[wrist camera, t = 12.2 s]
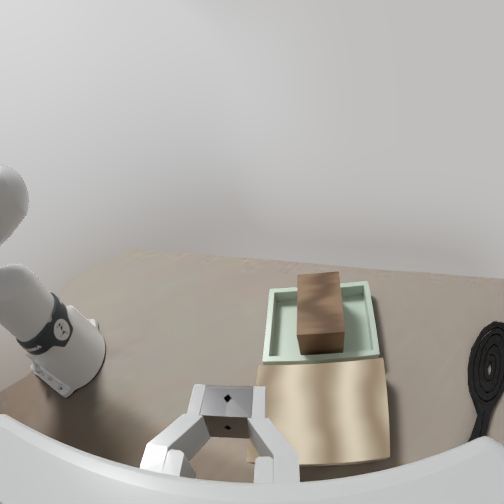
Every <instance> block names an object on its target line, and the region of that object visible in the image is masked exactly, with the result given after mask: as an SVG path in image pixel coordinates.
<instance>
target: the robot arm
mask: <svg viewBox="0 0 504 504" xmlns="http://www.w3.org/2000/svg"><path fill="white" fill-rule="evenodd" d="M28 202H29V200H28V192H27V188H26V185H25V183H24V181H23V179H22V177H21V176H20V175H19V174H18V173H17V172H16V171H15V170H13V169H12V168H10V167H8V166H5V165H0V246H1V244H3V242H5V241H6V240H7V239H8V238H9V237H10V236H11V235H12V233H13V232H14V231H15V229H16V228H17V227H18V225H19V224H20V223H21V221H22V220H23V219H24V217H25V216H26V215H27V212H28ZM0 324H1V325H2V326H4V327H5V328H6V329H7V330H8V331H9V332H10V333H11V334H12V335H14V336H15V337H16V339H17V341H18V343H19V344H20V345H21V346H22V347H23V348H24V349H25V351H26V356H27V357H28V358H30V359H31V360H32V361H33V363H32V365H31V367H30V368H31V369H32V370H33V371H34V373H35V374H37V375H38V376H39V377H40V378H41V379H42V380H43V381H45V382H46V383H47V384H48V385H49V386H51V387H52V388H53V389H54V390H55V391H57V392H58V393H59V394H60V395H62V396H63V397H65V398H67V397H68V396H70V395H71V394H72V393H73V392H74V391H75V390H76V389H78V388H80V387H82V386H84V385H86V384H87V383H88V382H90V381H91V380H92V379H93V378H94V376H95V375H96V374H97V372H98V371H99V369H100V367H101V365H102V362H103V359H104V355H105V342H104V339H103V337H102V335H101V334H100V332H99V329H98V323H97V321H95V320H94V319H89V320H87V319H86V318H85V317H84V316H83V315H82V314H81V313H80V312H78V311H77V310H76V309H75V308H74V307H73V306H71V305H70V306H65V305H64V304H63V303H62V301H61V300H60V299H59V298H58V297H57V296H55V295H54V294H53V293H51V292H49V291H48V290H47V289H46V287H45V286H44V285H43V284H42V283H41V282H40V280H39V279H38V278H37V277H36V275H35V274H34V273H33V272H32V270H31V269H30V268H28V267H27V266H25V265H22V264H17V263H16V264H15V263H14V264H9V265H5V266H0ZM210 437H229V438H245V439H250V440H251V442H252V444H253V445H254V447H255V448H256V450H257V452H258V453H259V455H260V456H261V457H258V458H256V459H255V472H254V483H237V482H222V481H211V480H202V479H195V478H196V473H195V471H194V470H193V468H192V466H191V465H190V463H189V461H190V460H191V459H192V458H193V457H194V456H195V455H196V453H197V452H198V451H199V450H200V449H201V448H202V447H203V446H204V445H205V443H206V442H207V441H208V440H209V439H210ZM0 504H504V445H502V444H501V443H499V442H497V441H495V440H493V439H492V438H490V437H487V436H482V437H479V438H476V439H474V440H472V441H470V442H468V443H465V444H463V445H461V446H458V447H456V448H453V449H451V450H448V451H445V452H443V453H440V454H437V455H434V456H431V457H428V458H425V459H422V460H419V461H416V462H412V463H409V464H405V465H402V466H398V467H394V468H390V469H386V470H381V471H377V472H372V473H367V474H362V475H356V476H350V477H344V478H337V479H329V480H320V481H309V482H300V473H299V455H298V454H297V452H296V451H295V450H294V449H293V448H292V446H291V445H290V444H289V443H288V442H287V440H286V439H285V438H284V437H283V435H282V434H281V433H280V432H279V430H278V429H277V428H276V426H275V425H274V424H273V423H272V421H271V420H270V419H269V418H266V386H216V385H203V384H195V385H194V387H193V390H192V394H191V398H190V402H189V406H188V410H187V414H182V415H181V416H180V417H179V418H178V419H177V420H175V421H174V422H173V423H172V424H171V425H169V426H168V427H167V428H166V429H165V430H163V431H162V432H161V433H160V434H159V435H157V436H156V437H155V438H154V439H152V440H151V441H150V442H149V443H148V444H147V446H146V449H145V452H144V455H143V458H142V462H141V465H140V468H137V467H133V466H129V465H125V464H122V463H118V462H115V461H111V460H108V459H105V458H102V457H99V456H96V455H93V454H90V453H87V452H84V451H82V450H79V449H76V448H74V447H71V446H69V445H66V444H64V443H62V442H59V441H57V440H55V439H52V438H50V437H48V436H46V435H44V434H42V433H40V432H38V431H36V430H34V429H32V428H30V427H28V426H26V425H24V424H22V423H20V422H18V421H16V420H15V419H13V418H11V417H10V416H8V415H5V414H1V415H0Z"/></svg>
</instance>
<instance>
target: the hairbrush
mask: <svg viewBox="0 0 504 504" xmlns="http://www.w3.org/2000/svg"><path fill="white" fill-rule="evenodd" d="M489 331H491V332H489ZM488 332H489V333H488ZM487 333H488V334H487ZM486 334H487V335H486ZM485 335H486V336H485ZM484 336H485V337H484ZM491 336H493V337H491ZM483 337H484V338H483ZM490 337H491V338H490ZM482 338H483V340H482V341H481V339H482ZM489 338H490V339H489ZM488 339H489V340H488ZM487 340H488V341H487ZM486 341H487V342H486ZM480 342H481V343H480ZM485 342H486V344H485ZM484 344H485V345H484ZM490 347H491V348H490ZM489 348H490V349H489ZM488 349H489V350H488ZM490 362H491V374H490V375H489V374H488V373H489V372H488V371H487V368H488V365H489V363H490ZM483 366H484V368H483ZM478 368H479V370H478ZM494 372H495V373H494ZM498 373H499V375H498ZM493 375H494V377H493ZM492 378H493V380H492ZM497 378H498V380H497ZM502 379H503V380H502ZM486 380H487V381H489V382H487V381H486ZM490 380H492V381H490ZM501 382H502V383H501ZM495 385H496V386H495ZM500 385H501V386H500ZM468 386H469V389H470V390H469V392H471V394H470V395H472V396H471V397H472V400H473V402H474V405H475V408H476V411H477V414H478V416H477V419H476V422H475V425H474V428H473V431H472V434H471V437H470V439H469V441H468V442H470V441H472V440H474V439H476V438H479V437H482V436H486V432H487V428H488V423H489V418H490V414H491V412H492V410H493V408H494V406H495V404H496V402H497V401H498V399H499V398H500V396H501V394H502V393H503V391H504V323H502V322H501V321H500V322H497V321H496V322H495V321H494V322H492V323H491V324H489V325H488V326H486V327H485V328H483V330H482V331H481V332H480V334H479V336H478V337H477V339H476V341H475V343H474V345H473V347H472V348H471V353H470V357H469V364H468ZM494 386H495V388H494ZM499 387H500V388H499ZM493 388H494V390H493V391H492V392H491V390H492V389H493ZM498 389H499V391H498ZM489 392H490V393H489ZM497 392H498V393H497ZM495 395H496V396H495ZM494 396H495V397H494ZM493 397H494V398H493ZM492 398H493V399H492ZM491 399H492V400H491ZM489 400H491V401H489ZM487 401H489V402H487ZM468 442H467V443H468Z"/></svg>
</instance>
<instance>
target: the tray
mask: <svg viewBox="0 0 504 504" xmlns="http://www.w3.org/2000/svg"><path fill="white" fill-rule="evenodd" d="M340 287H341V296H342V306H343V316H344V327H345V337H344V350H343V353H333V354H318V355H301V354H300V350H299V345H298V340H297V335H296V334H297V287H293V288H279V289H270V292H269V302H268V313H267V323H266V333H265V342H264V352H263V361H262V362H263V364H264V365H301V364H320V363H335V362H347V361H358V360H367V359H376V358H379V355H380V352H379V345H378V338H377V331H376V324H375V318H374V312H373V306H372V300H371V295H370V290H369V285H368V281H363V282H352V283H342V284H340Z"/></svg>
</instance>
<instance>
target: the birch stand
mask: <svg viewBox="0 0 504 504" xmlns="http://www.w3.org/2000/svg"><path fill="white" fill-rule="evenodd" d="M256 386H266V418H269V419H270V420H271V421H272V423H273V424H274V425H275V426H276V428H277V429H278V430H279V432H280V433H281V434H282V435H283V437H284V438H285V439H286V440H287V442H288V443H289V444H290V445H291V446H292V448H293V449H294V450H295V451H296V452H297V454H298V455H299V467H307V466H335V465H349V464H359V463H368V462H376V461H382V460H385V459H387V458H389V457H390V432H389V413H388V399H387V387H386V377H385V368H384V360H383V358H376V359H367V360H358V361H347V362H335V363H320V364H301V365H258V372H257V380H256ZM258 457H261V456H260V455H259V453H258V452H257V450H256V448H255V447H254V445H253V444H252V442H251V440H250V439H249V444H248V452H247V459H246V462H249V463H252V464H255V459H256V458H258Z"/></svg>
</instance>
